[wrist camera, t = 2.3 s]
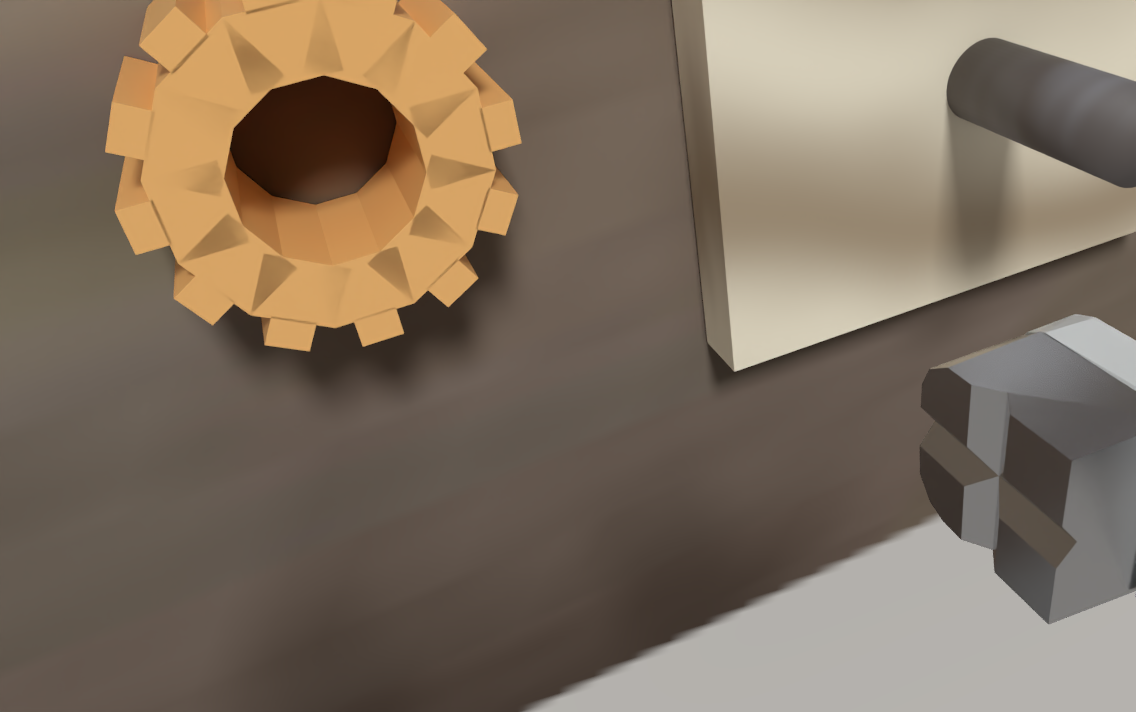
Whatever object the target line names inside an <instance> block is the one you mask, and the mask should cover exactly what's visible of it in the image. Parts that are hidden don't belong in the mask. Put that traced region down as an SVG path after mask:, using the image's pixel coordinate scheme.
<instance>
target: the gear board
mask: <svg viewBox="0 0 1136 712" xmlns="http://www.w3.org/2000/svg"><path fill="white" fill-rule="evenodd" d="M672 9H673V19H674V28H675V38H676V48H677V57H678V67H679V76H680V86H681V95H682V105H683V115H684V124H685V134H686V143H687V153H688V162H689V172H690V182H691V191H692V201H693V210H694V220H695V229H696V239H697V249H698V258H699V268H700V277H701V287H702V296H703V306H704V316H705V325H706V335H707V343H708V344H709V345H710V346H711V347H712V348H713V349H714V350H715V351H716V352H717V353H718V355H719V356H720V357H721V358H722V359H723V360H724V361H725V362H726V363H727V364H728V365H729V367H730V368H731V369H732V370H733V371H734V372H736V371H738V370H741V369H744V368H747V367H750V366H753V365H756V364H758V363H761V362H764V361H767V360H770V359H773V358H776V357H778V356H781V355H784V354H787V353H790V352H793V351H796V350H798V349H801V348H804V347H807V346H810V345H813V344H816V343H818V342H821V341H824V340H827V339H830V338H833V337H836V336H838V335H841V334H844V333H847V332H850V331H853V330H856V329H858V328H861V327H864V326H867V325H870V324H873V323H876V322H878V321H881V320H884V319H887V318H890V317H893V316H896V315H898V314H901V313H904V312H907V311H910V310H913V309H916V308H918V307H921V306H924V305H927V304H930V303H933V302H936V301H938V300H941V299H944V298H947V297H950V296H953V295H956V294H958V293H961V292H964V291H967V290H970V289H973V288H976V287H978V286H981V285H984V284H987V283H990V282H993V281H996V280H998V279H1001V278H1004V277H1007V276H1010V275H1013V274H1016V273H1018V272H1021V271H1024V270H1027V269H1030V268H1033V267H1036V266H1038V265H1041V264H1044V263H1047V262H1050V261H1053V260H1056V259H1058V258H1061V257H1064V256H1067V255H1070V254H1073V253H1076V252H1078V251H1081V250H1084V249H1087V248H1090V247H1093V246H1096V245H1098V244H1101V243H1104V242H1107V241H1110V240H1113V239H1116V238H1118V237H1121V236H1124V235H1127V234H1130V233H1133V232H1136V0H672Z"/></svg>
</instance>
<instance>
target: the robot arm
mask: <svg viewBox="0 0 1136 712" xmlns="http://www.w3.org/2000/svg"><path fill="white" fill-rule="evenodd" d="M921 408H922V409H923V410H924V411H925V412H926V413H928V414H929V415H930V416H931V417H932V418H933V419H934V420H935V421H934V423H933V425H932V426H931V428H930V430H929V431H928V433H927V434H926V436H925V438H924V439H923V441H922V443H921V444H920V475H921V478H922V481H923V483H924V486H925V489H926V492H927V495H928V497H929V500H930V502H931V504H932V505H933V507H934V508H935V510H936V511H937V513H938V514H939V516H940V517H941V519H942V520H943V522H945V523H946V525H947V526H948V527H949V528H950V529H951V530H952V531H953V532H954V533H955V534H956V535H957V536H958V537H959V538H960V539H961V540H964V541H967V542H971V543H973V544H977V545H980V546H983V547H986V548H989V549H992V550H993V558H994V570H995V573H996V574H997V575H998V576H999V577H1000V578H1001V579H1002V580H1003V581H1004V582H1005V583H1006V584H1007V585H1008V586H1009V587H1010V588H1011V589H1012V590H1013V591H1015V593H1017V594H1018V595H1019V596H1020V597H1021V598H1022V599H1023V600H1024V601H1025V602H1026V603H1027V604H1028V605H1029V606H1030V607H1031V608H1032V609H1033V610H1034V611H1035V612H1036V613H1037V614H1038V615H1039V616H1040V617H1041V618H1043V620H1045V622H1047V623H1048V624H1051V623H1053V622H1056V621H1059V620H1061V619H1064V618H1067V617H1069V616H1072V615H1074V614H1077V613H1080V612H1082V611H1085V610H1087V609H1090V608H1093V607H1095V606H1098V605H1100V604H1103V603H1106V602H1108V601H1111V600H1113V599H1116V598H1118V597H1121V596H1124V595H1126V594H1129V593H1132V592H1134V591H1136V340H1134V339H1132V338H1130V337H1129V336H1127V335H1125V334H1123V333H1122V332H1120V331H1118V330H1116V329H1114V328H1113V327H1111V326H1109V325H1107V324H1106V323H1104V322H1102V321H1100V320H1099V319H1097V318H1095V317H1091V316H1084V315H1078V314H1074V315H1072V316H1069V317H1066V318H1064V319H1061V320H1058V321H1056V322H1053V323H1050V324H1048V325H1045V326H1043V327H1040V328H1037V329H1035V330H1032V331H1029V332H1027V333H1026V334H1025V335H1023V336H1019V337H1016V338H1013V339H1010V340H1007V341H1005V342H1002V343H999V344H997V345H994V346H991V347H988V348H986V349H983V350H980V351H977V352H975V353H972V354H969V355H966V356H964V357H961V358H958V359H955V360H953V361H950V362H947V363H944V364H942V365H939V366H936V367H933V368H931V369H929V371H928V373H927V375H926V377H925V379H924V381H923V383H922V394H921ZM1135 597H1136V594H1135Z"/></svg>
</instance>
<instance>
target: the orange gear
mask: <svg viewBox="0 0 1136 712" xmlns="http://www.w3.org/2000/svg"><path fill="white" fill-rule="evenodd" d="M139 46H140V47H141V48H143V49H144V50H145V51H146V52H147V53H148V54H150V55H151V56H152V57H153V58H154V59H155V60H157V61H158V64H155V63H151V62H147V61H143V60H139V59H135V58H131V57H127V56H124V59H123V63H122V66H121V70H120V74H119V78H118V81H117V85H116V89H115V93H114V96H113V100H112V106H111V113H110V120H109V128H108V135H107V142H106V149H105V152H107V153H112V154H117V155H121V156H125V160H124V165H123V170H122V175H121V181H120V186H119V191H118V196H117V202H116V207H115V213H116V215H117V217H118V219H119V221H120V223H121V225H122V227H123V229H124V231H125V233H126V236H127V238H128V240H129V242H130V244H131V246H132V248H133V250H134V252H135V254H136V255H137V254H141V253H144V252H148V251H151V250H155V249H158V248H162V247H165V246H169V245H170V247H171V249H172V251H173V253H174V256H175V281H174V299H175V300H177V301H178V302H180V303H181V304H182V305H184V306H185V307H187V308H188V309H190V310H191V311H193V312H194V313H195V314H197V315H198V316H200V317H201V318H203V319H204V320H206V321H207V322H209V323H210V324H211V325H214V324H215V322H216V321H217V320H218V319H219V318H220V317H221V316H222V315H223V314H224V313H225V312H226V311H227V310H228V309H229V308H230V307H231V306H232V305H233V304H235V305H237V306H238V307H239V308H241V309H242V310H244V311H245V312H246V313H248V314H249V315H252V316H258V317H261V319H262V327H263V335H264V344H265V345H267V346H274V347H281V348H288V349H296V350H303V351H310V348H311V344H312V340H313V336H314V332H315V328H316V325H318V326H325V327H332V328H337V327H340V326H344V325H347V324H350V323H353V322H354V323H355V326H356V329H357V332H358V334H359V337H360V340H361V343H362V346H363V347H364V346H367V345H370V344H373V343H376V342H379V341H383V340H386V339H389V338H392V337H395V336H398V335H401V334H404V331H403V328H402V325H401V322H400V319H399V316H398V312H397V309H398V308H401V307H404V306H407V305H410V304H414V303H415V302H416V301H417V300H418V299H419V298H420V297H421V296H422V295H423V294H425V293H426V292H427V291H430V292H431V293H432V294H433V295H434V296H435V297H437V298H438V299H439V300H440V301H441V302H443V303H444V304H445V305H446V306H447V307H449V306H450V305H451V304H452V303H453V302H454V301H455V300H456V299H457V298H459V297H460V296H461V295H462V294H463V293H464V292H465V291H466V290H467V289H468V288H469V287H470V286H471V285H472V284H473V283H474V282H475V281H476V280H477V279H478V276H477V274H476V273H475V271H474V269H473V268H472V266H471V264H470V262H469V261H468V259H467V257H466V255H465V254H466V253H467V252H468V251H469V250H470V249H471V248H472V246H473V243H474V240H475V237H476V233H477V230H482V231H487V232H491V233H496V234H501V235H506V232H507V229H508V226H509V223H510V220H511V217H512V214H513V211H514V208H515V205H516V201H517V198H518V194H517V193H516V191H515V190H514V189H513V187H512V186H511V185H510V184H509V182H508V181H507V180H506V179H505V177H504V176H503V175H502V174H501V172H500V171H499V170H498V168H497V167H496V166H495V163H494V159H493V154H492V152H493V151H496V150H500V149H503V148H507V147H510V146H514V145H517V144H521V138H520V133H519V129H518V124H517V119H516V114H515V109H514V104H513V100H512V98H511V97H510V96H509V95H508V94H507V93H505V92H504V91H503V90H502V89H501V88H500V87H499V86H498V85H497V84H496V83H495V82H494V81H493V80H492V79H491V78H490V77H489V76H488V75H487V74H486V73H485V72H484V71H483V70H482V69H481V68H480V67H479V66H478V65H477V64H476V63H475V61H476V60H477V59H478V58H479V57H480V56H481V55H482V54H483V53H484V52H485V51H486V50H487V49H486V48H485V46H484V45H483V44H482V43H481V42H480V41H479V40H478V39H477V38H476V36H475V35H474V34H473V33H472V32H471V31H470V30H469V29H468V28H467V26H466V25H465V24H464V23H463V22H462V21H461V20H460V19H459V18H458V16H457V15H456V14H455V13H454V12H453V11H452V10H450V9H449V8H448V7H447V6H446V5H445V4H444V3H443V2H441V1H440V0H400V1H399V2H397V0H153V1H152V3H151V4H150V5H149V6H148V7H147V11H146V15H145V20H144V24H143V29H142V34H141V38H140V43H139ZM323 75H325V76H329V77H333V78H336V79H340V80H344V81H348V82H352V83H355V84H359V85H363V86H367V87H371V88H374V89H377V90H378V91H379V92H380V93H381V94H382V95H383V96H384V97H385V98H386V99H387V100H388V101H389V102H390V103H391V104H392V107H393V111H394V114H395V118H396V121H397V124H396V127H395V131H394V135H393V139H392V143H391V147H390V150H389V154H388V158H387V162H386V164H385V165H384V166H383V167H382V168H381V169H380V170H379V171H378V172H377V173H376V174H375V175H374V176H373V177H372V178H371V179H370V180H369V181H368V182H367V183H366V184H365V185H364V186H363V187H362V188H361V189H360V190H359V191H358V192H357V193H354V194H351V195H347V196H344V197H340V198H337V199H333V200H330V201H326V202H323V203H320V204H316V205H314V204H309V203H304V202H300V201H295V200H290V199H285V198H280V197H275V196H271V195H270V194H269V193H268V192H266V191H265V190H264V189H263V188H262V187H260V186H259V185H258V184H257V183H255V182H254V181H253V180H252V179H251V178H249V177H248V176H247V175H246V174H244V173H243V172H242V171H241V170H240V169H238V168H237V167H236V164H235V162H234V159H233V157H232V154H231V152H230V144H231V139H232V134H233V129H234V127H235V126H236V125H237V124H238V123H239V122H240V121H241V120H242V119H243V118H244V117H245V116H246V115H247V114H248V112H249V111H250V110H251V109H252V108H253V107H254V106H255V105H256V104H257V103H258V102H259V101H260V100H261V99H262V98H263V97H264V96H265V95H266V94H267V93H268V92H269V91H270V90H271V89H274V88H278V87H281V86H285V85H289V84H293V83H297V82H300V81H304V80H308V79H312V78H315V77H319V76H323Z"/></svg>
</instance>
